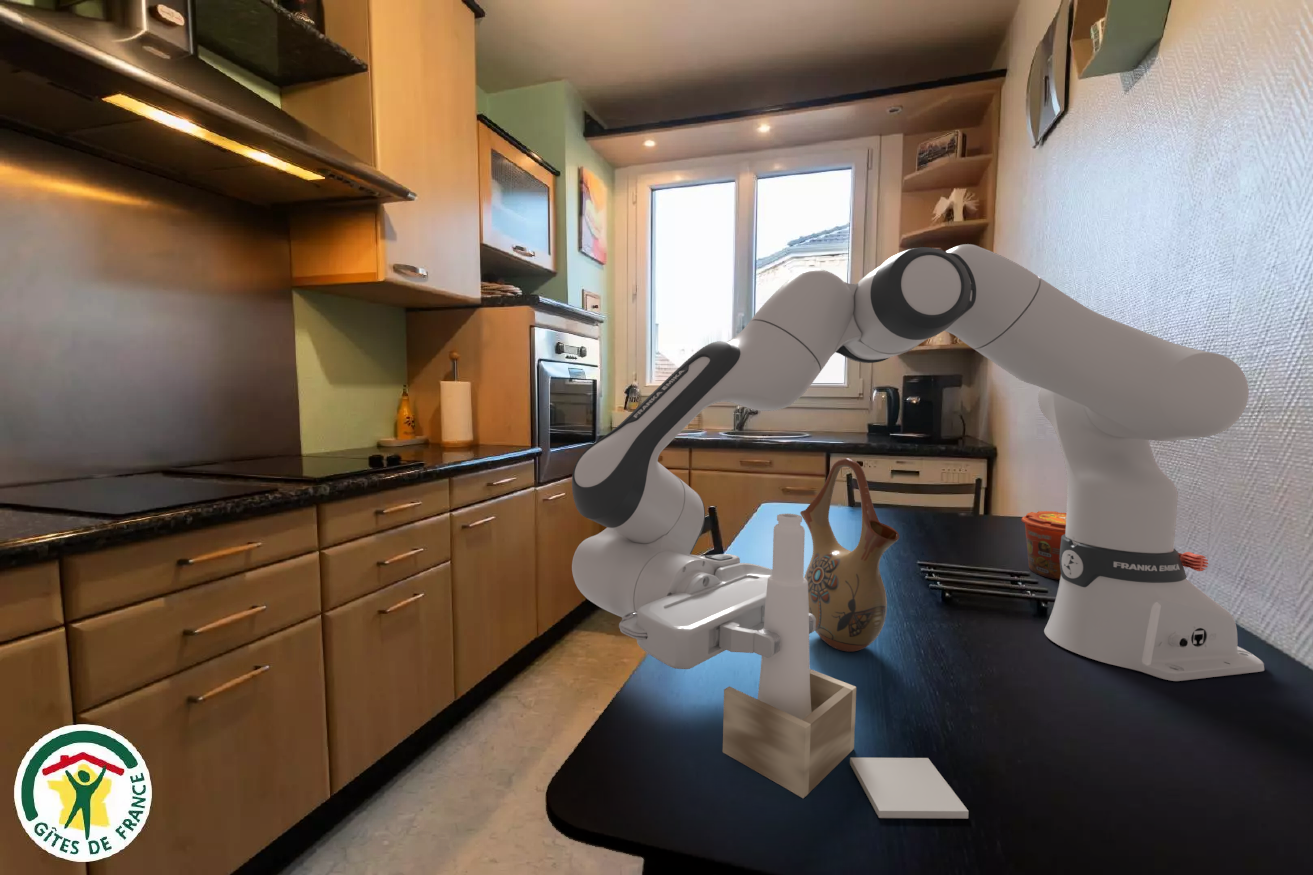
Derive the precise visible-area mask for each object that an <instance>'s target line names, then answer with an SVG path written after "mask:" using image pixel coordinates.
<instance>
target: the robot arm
mask: <svg viewBox="0 0 1313 875" xmlns="http://www.w3.org/2000/svg"><path fill="white" fill-rule="evenodd" d="M943 332H947V333H949V334H951V335H953V336H955V337H956V338H957V339H958V340H960V341H961V342H963V343H964V344H966V345H967V346H968V347H970V348H971V349H973V350H975V351H976V352H978V353H979V354H980V355H981V356H983V357H985V358H986V359H988V360H989V361H990V362H992V363H994V364H995V365H996V366H998V367H1000V368H1001V369H1003V370H1004V371H1006V372H1007V373H1009V374H1011V375H1012V376H1013V377H1015V378H1016V379H1018V380H1019V381H1021V382H1024V383H1027V384H1029V385H1033V386H1037V387H1039V388H1038V389H1039V390H1038V393H1037V394H1038V395H1037V400H1038V406H1039V409H1040V411H1041V413H1042V414H1043V416H1044V417H1045V418H1046V420H1048V421H1049V423H1050V425H1051V426H1052V427H1053V429H1054V431H1055V433H1056V436H1057V440H1058V443H1059V447H1060V449H1061V454H1062V457H1063V458H1062V459H1063V462H1064V466H1065V471H1066V472H1065V473H1066V474H1065V475H1066V483H1067V485H1066V487H1067V492H1066V493H1067V494H1066V495H1067V497H1066V513H1067V514H1066V531H1065V534H1064V535H1062V537H1061V546H1060V558H1059V559H1060V570H1061V578H1060V580H1059V584H1058V588H1057V592H1056V596H1055V600H1054V604H1053V606H1052V607H1053V608H1052V610H1051V613H1050V616H1049V619H1048V621H1047V624H1046V625H1045V628H1044V630H1043V632H1044V635H1045V636H1046V637H1047V638H1048V639H1049V640H1050V641H1051V642H1053V643H1055V644H1056V645H1058V646H1060V647H1061V648H1063V649H1065V650H1068V651H1070V652H1072V653H1075V654H1078V655H1080V656H1083V657H1084V658H1085V657H1086V658H1088V659H1092V660H1095V661H1096V662H1097V661H1098V662H1101V663H1105V664H1108V665H1113V666H1117V667H1121V668H1125V669H1129V670H1133V671H1137V672H1141V673H1144V674H1146V675H1149V676H1153V677H1156V678H1159V679H1163V680H1166V681H1167V680H1168V681H1170V682H1171V681H1173V682H1180V681H1181V682H1183V681H1190V680H1198V679H1206V678H1213V677H1214V678H1215V677H1216V678H1217V677H1224V676H1225V677H1226V676H1234V675H1242V674H1243V675H1244V674H1249V673H1250V674H1252V673H1258V672H1260V673H1261V672H1264V671H1265V663H1264V662H1263V660H1262V659H1260V658H1259V657H1257V656H1256V655H1254V654H1253V653H1252V652H1250V651H1248V650H1246V649H1244V648H1243V647H1241V646H1238V630H1237V629H1238V628H1237V624H1236V621H1235V619H1234V617H1233V615H1232V613H1230V612H1229V611H1228V610H1227V609H1226V608H1225V607H1223V606H1222V605H1221V604H1219V603H1218V602H1216V600H1214V599H1212V597H1210V596H1208V595H1207V594H1206V593H1205V592H1203V591H1202V590H1201V589H1200V588H1198V587H1197V586H1196V585H1195V584H1194V583H1192V582H1191V581H1189V580H1188V578H1187V574H1186V571H1185V568H1190V569H1192V570H1194V571H1195V572H1203V571H1205V570H1206V568H1208V567H1209V566H1208V565H1209V560H1208V559H1207V557H1206V556H1205V555H1201V554H1197V553H1196V554H1195V553H1193V552H1191V551H1185V552H1183V553H1181V552H1179V551H1178V550H1177V549H1175V538H1176V528H1177V527H1176V524H1177V512H1178V500H1179V494H1178V490H1177V486H1176V485H1175V483H1174V482H1173V480H1172V479H1171V478H1169V477H1168V475H1166V474H1165V473H1164V472H1163V470H1162V469H1161V468H1160V466H1159V465H1158V463H1157V462H1156V459H1155V457H1154V454H1153V451H1152V448H1151V443H1150V441H1156V442H1157V441H1158V442H1177V441H1185V440H1194V439H1200V438H1206V437H1212V436H1215V435H1218V434H1220V433H1223V432H1224V431H1226V430H1228V429H1229V428H1231V427H1232V426H1234V425H1235V423H1237V421H1238V420H1239V419H1240V418H1241V417H1242V415H1243V413H1244V411H1245V410H1246V408H1247V407H1246V406H1247V404H1248V400H1249V382H1248V379H1247V378H1246V375H1245V373H1244V371H1243V370H1242V368H1241V367H1240V366H1239V365H1238V364H1237V363H1236V362H1235V361H1234V360H1233V359H1231V358H1229V357H1228V356H1225V355H1223V354H1220V353H1215V352H1210V351H1206V350H1201V349H1196V348H1193V347H1188V346H1184V345H1181V344H1178V343H1175V342H1171V341H1169V340H1166V339H1163V338H1160V337H1158V336H1155V335H1152V334H1151V333H1148V332H1146V331H1143V330H1141V329H1138V328H1135V327H1132V326H1131V325H1128V324H1125V323H1122V322H1119V321H1117V320H1115V319H1112V318H1110V317H1107V316H1105V315H1103V314H1100V313H1098V312H1096V311H1094V310H1092V309H1090V308H1089V307H1087V306H1084V305H1083V304H1081V303H1080V302H1079V301H1077V300H1075V299H1074V298H1072V297H1070V295H1068V294H1066V293H1065V292H1063V291H1061V290H1059V288H1056V287H1055V286H1053V285H1052V284H1051V283H1049V282H1047V281H1046V280H1044V279H1043V278H1041V277H1040V276H1038V275H1037V274H1036V273H1034V272H1032V271H1030V270H1029V269H1027V268H1025V267H1023V266H1022V265H1020V264H1018V263H1016V262H1015V261H1013V260H1010V259H1009V258H1007V257H1004V256H1003V255H1000V254H998V253H996V252H993V251H991V250H988V249H986V248H984V247H980V246H979V245H976V244H971V243H970V244H969V243H967V244H966V243H965V244H960V245H956V246H954V247H952V248H949V249H947V250H943V249H939V248H936V247H935V248H934V247H926V246H925V247H922V246H920V247H914V248H909V249H906V250H903V251H899V252H898V253H897V254H894V255H892V256H890V257H889V258H888V259H886V260H885V261H884V262H882V264H881V265H879V266H877V267H876V268H875V269H873V270H871V271H870V272H868V273H867V274H866V275H865V276H863V277H862V278H861V279H860V280H859V281H858V282H857V283H848V282H846V281H843V279H842V278H840V277H839V276H837V275H836V274H834V273H833V272H830V271H828V270H826V269H821V268H807V269H803V270H801V271H799V272H796V274H793V276H791V277H790V279H788V280H786V282H785V283H784V284H783V285H781V287H779V288H778V289H777V290H776V291H775V292H774V293H773V294H772V295H771V296H770V297H769V298H768V299H767V301H766V302H764V303H763V305H762V306H761V307H760V308H759V310H758V311H757V312H756V313H755V314H754V315H753V317H752V318H751V319H750V320H749V322H748V323H747V324H746V326H745V327H744V328H743V329H742V330H741V331H740V332H739V333H737V334H736V335H735V336H734V337H732V338H730V339H729V340H728V341H722V340H719V341H713V342H710V343H708V344H706V345H705V346H703V347H702V348H700V349H698V351H696V352H695V353H693V355H692V356H690V357H689V358H688V359H687V360H685V361H684V362H683V363H682V364H680V366H679V367H678V368H677V369H676V370H675V371H673V372H672V374H671V375H670V376H669V377H668V378H667V379H666V380H664V381H663V382H662V383H661V384H660V385H659V386H658V387H657V388H656V389H655V390H654V391H653V392H651V394H650V395H649V396H648V397H647V398H645V400H643V402H642V403H640V404H639V406H637V407H636V408H635V409H634V410H633V411H632V412H630V414H629V415H628V416H626V418H625V419H624V420H623V421H622V422H620V424H619V425H617V426H616V427H615V428H614V429H612V430H611V431H609V432H608V433H607V434H605V435H604V436H602V437H601V438H599V439H598V440H597V441H595V442H594V443H593V444H591V445H590V446H588V448H587V449H585V450H584V451H583V452H582V454H581V455H580V456H579V458H578V459H577V461H576V462H575V465H574V467H573V470H572V476H571V489H572V491H571V492H572V497H573V502H574V505H575V508H576V510H577V511H578V513H579V514H580V515H581V516H582V517H584V518H586V519H587V520H590V521H593V522H595V523H596V524H599V525H601V526H603V527H606V528H605V529H604V530H602V531H601V532H599V533H597V534H595V535H592V536H589V537H588V538H587V537H586V538H585V539H584V540H583V541H581V543H579V545H578V546H577V548H576V549H575V552H574V555H573V556H572V562H571V571H572V576H573V582H574V583H575V585H576V587H577V589H578V591H579V592H580V593H581V594H582V596H584V597H585V598H586V599H587V600H588V601H590V602H591V603H592V604H594V605H596V606H597V607H599V608H601V609H602V610H604V611H606V612H609V613H611V614H613V615H614V616H615V615H616V616H618V617H620V618H621V621H620V622H619V623H618V628H619V629H620V632H621V633H622V634H624V635H626V636H627V637H630V638H633V639H636V643H637V645H638V646H639V648H640V649H642V650H643V651H644V652H645V653H647V654H648V655H650V656H651V657H653V658H655V659H656V660H658V661H660V662H661V663H662V664H664V665H667V666H669V667H670V668H672V669H678V670H691V669H693V668H694V667H696V666H699V665H700V664H702V663H704V662H706V661H708V660H710V659H712V658H713V657H715V656H717V655H720V654H722V653H723V652H725V651H728V652H731V653H745V654H746V653H750V654H753V653H754V654H756V655H759V656H761V657H762V656H764V657H767V658H770V657H771V656H773V655H775V654H776V653H778V652H779V651H780V645H779V644H780V636H779V635H778V634H777V633H775V632H771V631H769V630H766V629H764V616H765V603H766V592H767V581H768V577H769V576H771V575H772V570H773V568H769V567H767V566H764V565H760V564H754V563H749V562H747V563H746V562H741V560H740V558H741V557H739V556H738V555H735V554H730V553H720V554H719V553H718V554H707V555H696V554H692V553H693V550H694V548H695V547H696V545H697V543H698V540H699V539H700V537H701V534H702V531H703V530H704V526H705V520H706V508H705V507H706V506H705V504H704V501H703V498H702V497H701V496H700V494H698V492H697V491H695V490H694V489H693V488H692V487H690V486H689V485H688V484H687V483H686V482H684V480H682V479H681V478H680V477H679V476H678V475H676V474H674V473H673V472H671V470H668V468H666V467H665V466H664V465H662V464H661V463H660V462H659V461H658V460H659V456H660V454H661V453H662V452H663V450H664V449H665V448H666V447H667V446H668V445H669V444H670V443H671V442H672V441H674V439H676V437H678V435H680V434H681V432H682V431H683V430H684V429H685V428H686V427H687V426H688V425H690V423H691V422H692V421H693V420H694V419H695V418H697V417H698V415H699V414H700V413H701V412H703V411H704V410H705V409H706V408H708V407H709V406H712V405H714V404H717V403H723V402H726V403H732V404H736V405H738V406H741V407H744V408H747V409H750V410H754V411H761V412H771V411H773V412H775V411H779V410H783V409H785V408H788V407H790V406H792V405H793V404H794V403H795V402H797V401H798V400H799V399H800V398H801V397H802V396H804V394H805V393H806V392H807V390H809V388H810V387H811V385H812V384H813V383H814V381H815V380H816V378H817V377H818V376H819V374H820V373H821V372H822V370H823V369H824V368H825V366H826V364H827V363H828V362H829V360H830V359H831V357H832V356H833V355H834V354H836V353H837V354H839V355H840V356H841V355H842V356H843V357H844V358H847V359H848V360H850V361H851V360H852V361H854V362H857V363H863V364H875V363H880V362H884V361H886V360H888V359H890V358H893V357H896V356H900V355H902V354H904V353H907V352H910V351H912V350H914V349H915V348H917V347H918V346H919V345H921V344H922V343H923V342H925V341H927V340H929V339H931V338H933V337H936V336H938V335H939V334H941V333H943ZM815 626H816V618H815V616H814V615H813V614H811V613H809V635H810V634H812V633H814V632H816V631H815Z"/></svg>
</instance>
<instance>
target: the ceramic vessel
mask: <svg viewBox="0 0 1313 875" xmlns="http://www.w3.org/2000/svg"><path fill="white" fill-rule="evenodd" d="M843 468H849V469H850V470H852V472H853V473H854V475H855V479H856V482H857V485H858V486H857V487H858V489H859V490H858V491H859V495H860V504H861V531H860V537H859V541H858V544H857V545H856V546H855V548H854V549H853V550H850V549H847V548H845V547H844V546H842V545H841V544H840V543H839V541H838V540H837V538H836V536H835V534H834V532H833V531H834V530H833V529H832V526H831V523H830V520H829V518H830V508H831V504H832V503H831V502H832V498H833V494H834V489H835V485H836V481H837V479H838V478H837V477H838V475H839V473H840V471H841V469H843ZM799 514H800V516H801V517H802V520H804V522H805V524H806V526H807V528H808V530H809V532H810V535H811V541H812V555H811V557H810V558H811V559H810V561H809V564H808V566H807V568H806V571H805V572H804V576H803V577H804V578H805V579H806V580H807V581H808V601H809V613H811V614H813V615H814V616H815V618H816V626H815V631H814V632H815V633H816V634H817V636H819V638H821V640H822V641H823V642H825V644H827V645H828V646H830V647H831V648H833V649H835V650H838V651H842V652H848V653H849V652H850V653H851V652H852V653H853V652H859V651H861V650H863V649H865V648H867V647H869V646H870V645H871V644H873V642H875V640H876V639H877V638H878V637H879V635H880V634H881V632H882V630H883V627H884V626H885V622H886V618H887V611H888V601H887V600H888V599H887V592H886V587H885V584H884V582H883V579H882V574H881V571H880V562H881V559H882V556H883V555H884V553H885V552H886V551H887V550H888V549H890V547H891V546H892V545H894V544H896V542H898V540H900V533H899V532H898V531H897V530H896V529H895V528H893V527H892V526H890V525H888V524H885V523H882V522H880V520H879V518H878V516H877V513H876V511H875V508H874V504H873V501H872V496H871V493H870V489H869V485H868V481H867V477H866V473H865V471H864V469H863V468H862V466H861V465H860V464H859V463H858V462H857V461H855V460H854V459H852V458H849V457H846V458H841V459H839V460H837V461H835V462H834V463H833V464H832V466H831V468H830V470H829V473H828V475H827V478H826V480H825V482H824V484H823V486H822V488H821V489H820V491H819V492H818V494H817V495H816V497H815V498H814V499H813V500H812V501H811V503H809V505H808V506H807V507H806V509H804V510H802V511H800V512H799Z"/></svg>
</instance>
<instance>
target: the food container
mask: <svg viewBox="0 0 1313 875" xmlns="http://www.w3.org/2000/svg"><path fill="white" fill-rule="evenodd" d="M1066 514H1067V512H1058V511H1052V510H1044V511H1042V510H1040V511H1039V510H1038V511H1037V512H1033V511H1030V512H1028V513H1026V515H1024V516H1022V517H1021V523H1022V524H1023V523H1024V529H1025V530H1024V531H1025V538H1026V549H1027V560H1028V568H1029V570H1030V571H1031V572H1032V573H1034V574H1036V575H1039V576H1040V577H1044V578H1049V579H1053V580H1056V581H1060V578H1061V570H1060V559H1059V558H1060V546H1061V537H1062V535H1064V534H1065V531H1066Z"/></svg>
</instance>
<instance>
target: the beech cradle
mask: <svg viewBox="0 0 1313 875" xmlns="http://www.w3.org/2000/svg"><path fill="white" fill-rule="evenodd" d="M810 695H811V711H812V713H810V714H809V715H808V716H806V717H805V718H804V719H803V720H801V719H799V718H797V717H794V716H792V715H790V714H788V713H786V712H784V711H782V710H779V709H777V708H775V707H773V706H771V705H769V704H766V703H764V702H762V701H760V700H758V698H755V697H754V696H751V695H749V694H747V693H745V692H743V691H742V690H741V691H740V690H739V689H736V688H734V687H732V686H730V685H729V686H727V687H726V688H724V689H723V714H722V715H723V718H722V719H723V720H722V721H723V724H722V726H723V727H722V753H723V754H725V755H726V756H729V757H730V758H732V759H733V760H736V761H737V762H739V763H741V764H742V765H745V766H746V767H748V768H750V769H751V770H752V771H755V772H756V773H759V774H760V775H762V776H763V777H765V778H767V779H769V780H770V781H773V782H774V783H775V784H777V785H779V786H780V787H783V788H784V789H786V790H788V791H789V792H791V793H793V794H794V795H796V796H798V797H800V798H802V799H804V798H805V797H807V796H808V795H809V794H810V793H811V792H812V791H813V790H814V789H815V788H816V787H817V786H818V785H819V784H820V783H821V782H822V781H823V780H824V779H825V778H826V777H827V776H828V775H829V774H830V773H831V772H832V771H833V770H834V769H835V768H836V767H837V766H839V764H840V763H841V762H842V761H843V760H844V759H845V758H846V757H847V756H848V755H849V754H850V753H851V752H852V751H853V750H855V732H856V731H855V728H856V710H857V709H856V705H857V704H856V703H857V686H855V685H854V684H850V683H848V682H844V681H843V680H840V679H837V678H834V677H832V676H829V675H827V674H825V673H822V672H819V671H817V670H814V669H812V668H810Z"/></svg>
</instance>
